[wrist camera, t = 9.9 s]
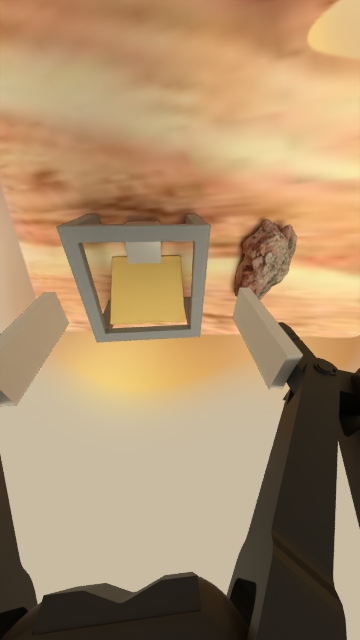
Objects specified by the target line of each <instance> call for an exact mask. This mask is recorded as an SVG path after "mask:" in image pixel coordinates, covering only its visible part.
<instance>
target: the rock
mask: <svg viewBox="0 0 360 640" xmlns="http://www.w3.org/2000/svg"><path fill="white" fill-rule="evenodd" d="M296 242H297V235H295V232H294V230H293V228H292V226H291V225H287V226H285V227H284V228H283V229H281V230H280V228H279V225H277V224H275V223H271V221H270V220H265V221H264V222H263V224H262V226H261V227H260V228H259V230H258V231H257V232H256V233H255V234H254V235H252V236H250V237H249V238H248V239H247V240H246V241H245V242H244V243H243V245H242V246H243V253H244V254H245V256H244V260H243V262H242V263H241V264H240V265H239V267H238V270H237V274H236V278H235V279H236V281H235V296H238V292H239V288H250V289H251V290H252V291H253V293H254V294H255V295H256V296H257V298H258V299H259V300H261V299H262V298H263V296H264V295H265V294H266V293H267V292H268V291H269V290H270V289H271V287H272V286H273V285H276V284H278V283H280V282H281V281H282V280H283V278H284V277H285V276H286V274H287V273H288V271H289V265H290V262H291V258H292V256H293V254H294V252H295V249H296Z"/></svg>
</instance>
